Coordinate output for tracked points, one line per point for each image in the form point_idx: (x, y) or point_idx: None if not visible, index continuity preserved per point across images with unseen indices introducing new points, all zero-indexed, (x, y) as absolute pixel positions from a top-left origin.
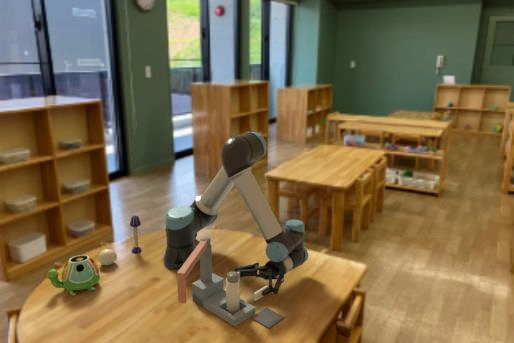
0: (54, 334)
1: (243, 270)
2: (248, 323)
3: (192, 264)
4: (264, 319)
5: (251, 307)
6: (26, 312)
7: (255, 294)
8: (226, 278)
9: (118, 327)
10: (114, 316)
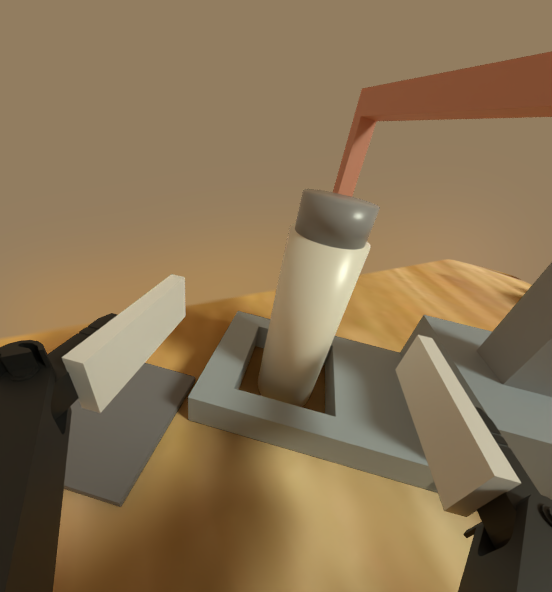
0: (442, 264)
1: (548, 580)
2: (196, 355)
3: (413, 92)
4: (126, 385)
5: (207, 387)
6: (514, 279)
7: (172, 278)
8: (427, 337)
9: (416, 281)
10: (454, 294)
